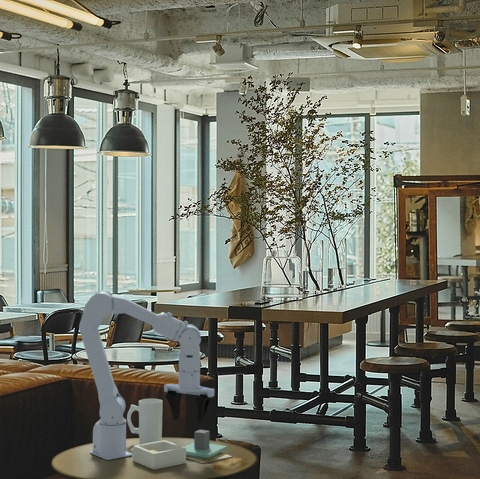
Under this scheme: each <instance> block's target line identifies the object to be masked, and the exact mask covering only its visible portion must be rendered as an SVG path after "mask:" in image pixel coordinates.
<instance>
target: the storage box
mask: <svg viewBox="0 0 480 479" xmlns="http://www.w3.org/2000/svg"><path fill="white" fill-rule="evenodd" d="M132 462H134V463H137V464H140V465H143V466H145V467H147V468H149V469H151V470H157V469H162V468H164V469H165V468H168V467H173V466H178V465H182V464H186V463H187V458H186V448H185V447H184V446H182V445H180V444H176V443H174V442H171V441H168V440H166V439H164V440H163V439H162V441H157V442H152V443H146V444H140V443H139V444H135V445H132Z"/></svg>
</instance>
